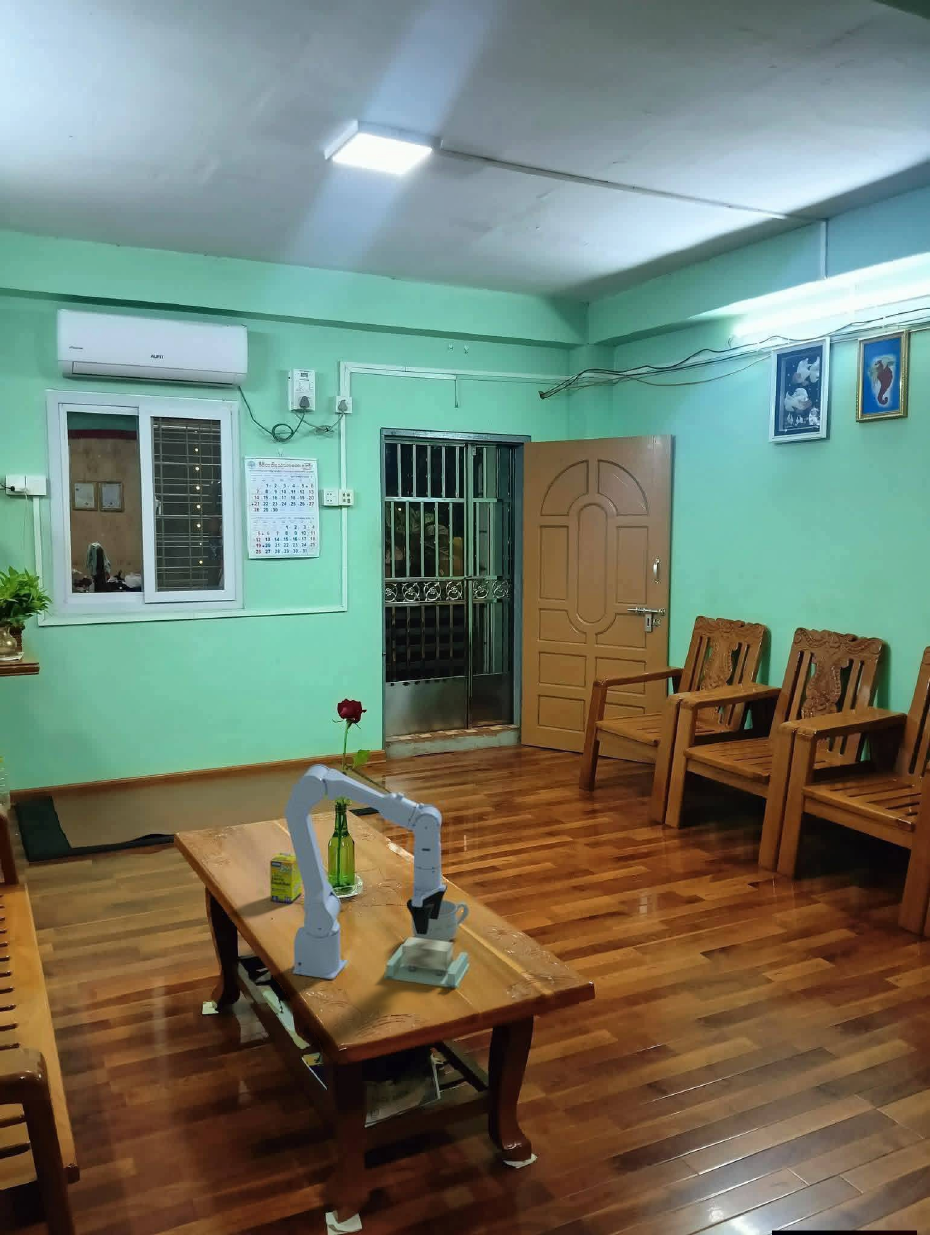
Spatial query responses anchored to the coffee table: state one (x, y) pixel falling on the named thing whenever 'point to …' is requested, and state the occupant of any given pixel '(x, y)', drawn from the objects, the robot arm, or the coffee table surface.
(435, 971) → the peg frame
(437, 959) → the shelf block
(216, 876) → the coffee table surface
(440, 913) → the teacup
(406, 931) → the coffee table surface
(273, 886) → the supplement box
